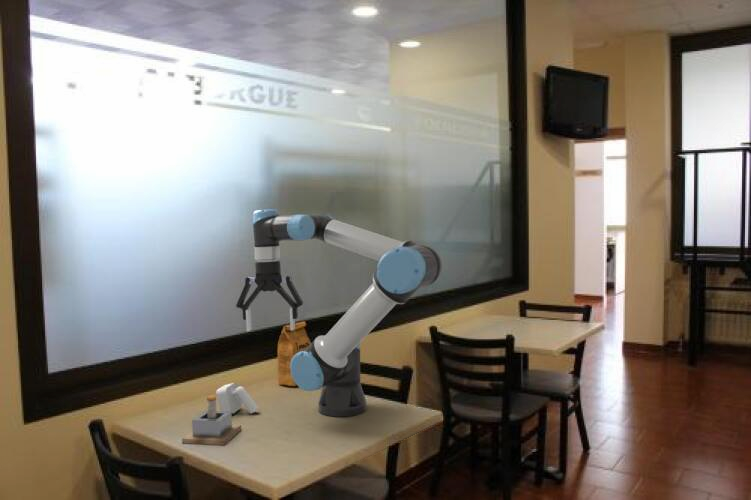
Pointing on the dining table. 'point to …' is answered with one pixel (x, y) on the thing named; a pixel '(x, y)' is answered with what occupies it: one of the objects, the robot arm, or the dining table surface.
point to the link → (212, 424)
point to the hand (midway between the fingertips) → (270, 330)
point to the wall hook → (234, 398)
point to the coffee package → (290, 350)
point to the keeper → (212, 440)
